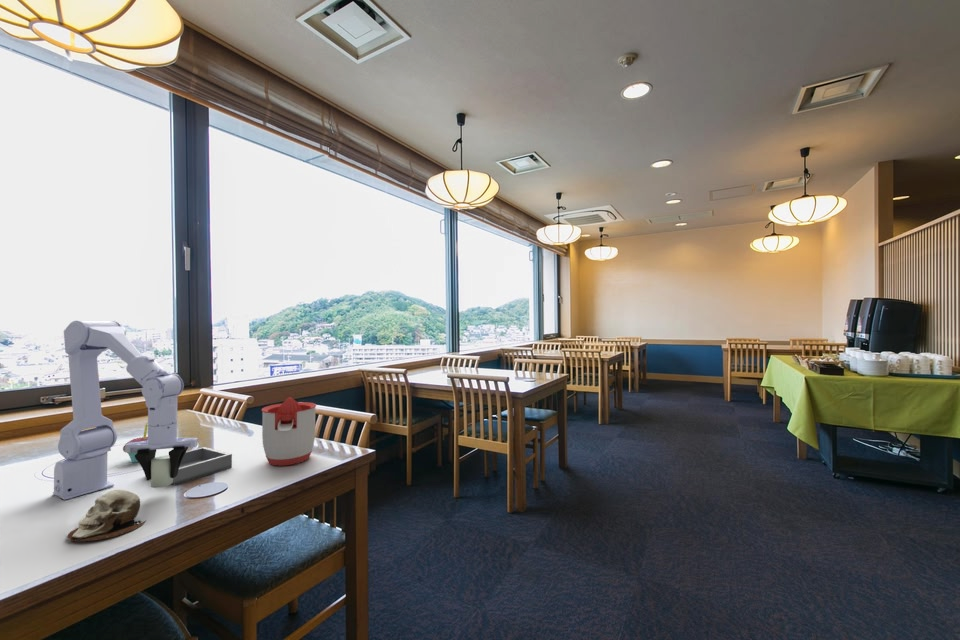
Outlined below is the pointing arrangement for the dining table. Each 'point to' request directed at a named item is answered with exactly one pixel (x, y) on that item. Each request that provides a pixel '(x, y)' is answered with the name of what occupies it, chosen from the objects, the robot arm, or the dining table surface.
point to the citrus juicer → (288, 431)
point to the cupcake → (144, 438)
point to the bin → (201, 464)
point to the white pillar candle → (160, 471)
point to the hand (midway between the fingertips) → (162, 477)
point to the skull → (109, 517)
